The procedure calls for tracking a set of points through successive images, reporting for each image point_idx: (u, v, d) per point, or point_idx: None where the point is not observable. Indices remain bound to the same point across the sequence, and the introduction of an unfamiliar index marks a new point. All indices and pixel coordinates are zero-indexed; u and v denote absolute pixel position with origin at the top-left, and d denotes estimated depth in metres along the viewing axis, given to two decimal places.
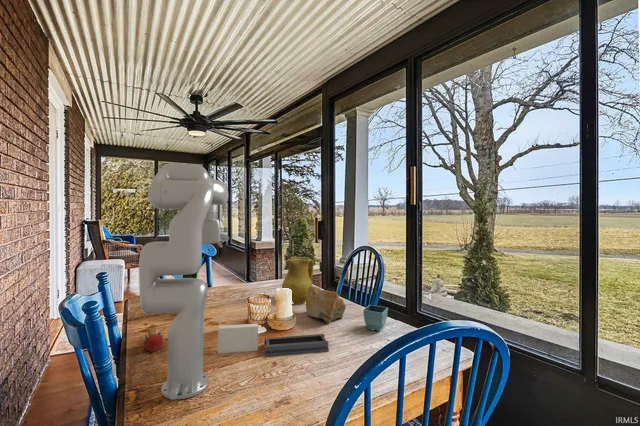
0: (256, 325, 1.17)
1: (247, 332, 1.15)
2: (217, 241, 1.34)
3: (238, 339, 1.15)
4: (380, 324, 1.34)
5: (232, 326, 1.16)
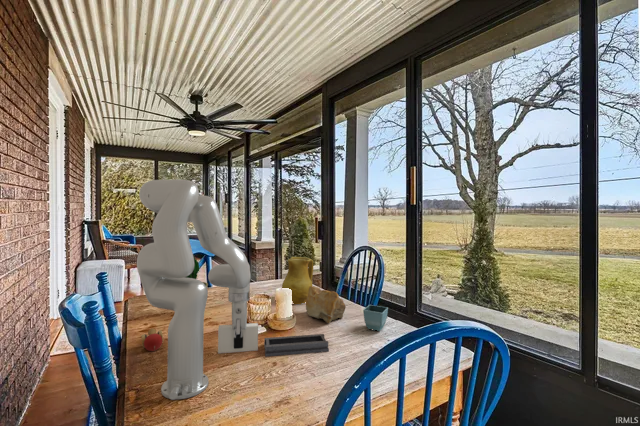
0: (256, 325, 1.17)
1: (247, 332, 1.15)
2: None
3: None
4: (380, 324, 1.34)
5: None
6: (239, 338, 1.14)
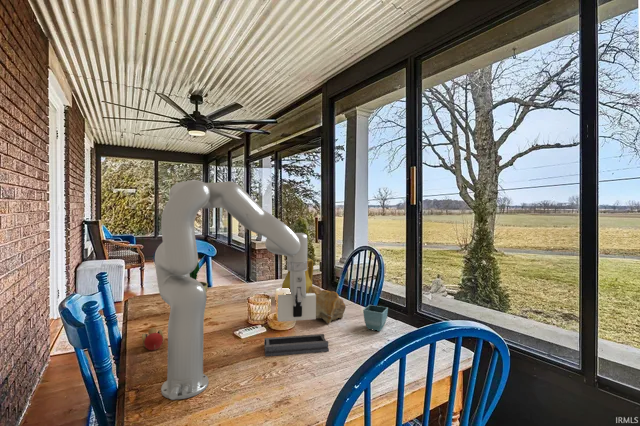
0: (313, 294, 1.20)
1: (305, 301, 1.18)
2: None
3: None
4: (380, 324, 1.34)
5: (291, 295, 1.18)
6: (299, 307, 1.16)
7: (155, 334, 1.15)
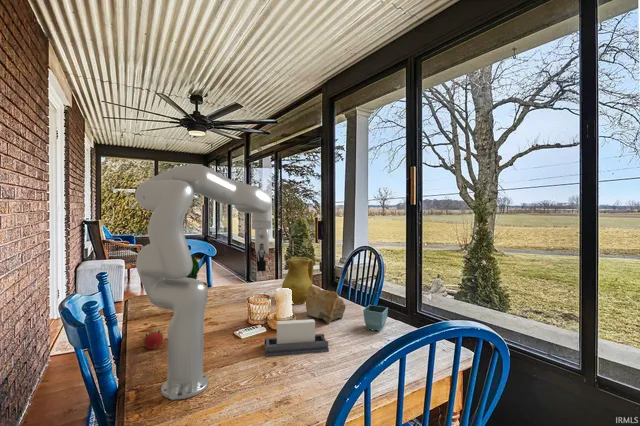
0: (313, 321, 1.19)
1: (304, 328, 1.18)
2: None
3: (296, 334, 1.17)
4: (380, 324, 1.34)
5: (290, 322, 1.18)
6: (262, 261, 1.20)
7: (155, 333, 1.16)
